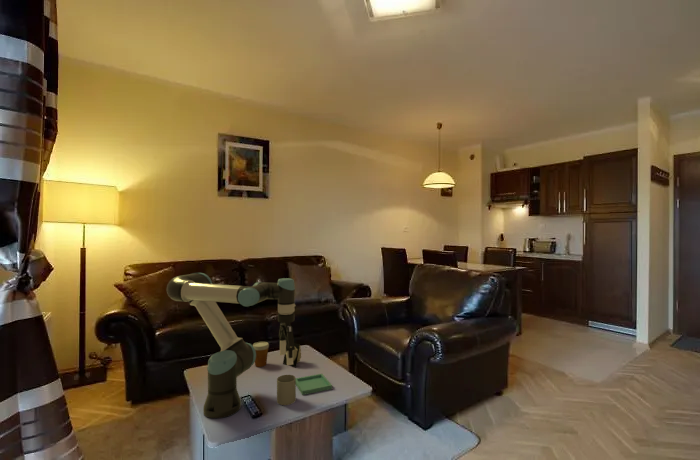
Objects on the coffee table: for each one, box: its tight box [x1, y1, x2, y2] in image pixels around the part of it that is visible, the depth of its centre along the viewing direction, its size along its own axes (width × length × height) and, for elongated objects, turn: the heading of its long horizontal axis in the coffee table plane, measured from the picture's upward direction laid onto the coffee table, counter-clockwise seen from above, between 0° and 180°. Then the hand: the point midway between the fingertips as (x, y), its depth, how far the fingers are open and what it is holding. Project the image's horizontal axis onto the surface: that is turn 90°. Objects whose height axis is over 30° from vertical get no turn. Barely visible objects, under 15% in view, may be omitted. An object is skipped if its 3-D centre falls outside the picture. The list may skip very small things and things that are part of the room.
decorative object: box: [282, 342, 302, 368], centre depth 196 cm, size 13×10×10 cm
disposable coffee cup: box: [252, 341, 270, 368], centre depth 194 cm, size 10×10×12 cm
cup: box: [276, 374, 297, 406], centre depth 153 cm, size 8×8×10 cm
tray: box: [295, 373, 333, 396], centre depth 168 cm, size 15×15×2 cm
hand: (286, 359), depth 153 cm, fingers open, 13 cm apart
